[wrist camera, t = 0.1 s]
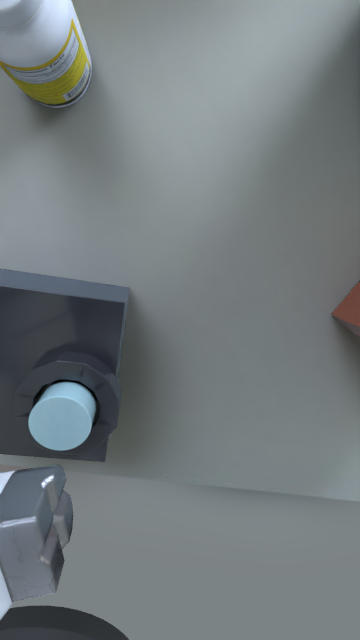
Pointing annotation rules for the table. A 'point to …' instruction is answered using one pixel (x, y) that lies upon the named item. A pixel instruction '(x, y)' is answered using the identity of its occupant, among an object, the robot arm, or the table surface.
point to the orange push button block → (350, 311)
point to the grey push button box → (58, 355)
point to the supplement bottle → (45, 50)
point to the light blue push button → (62, 416)
